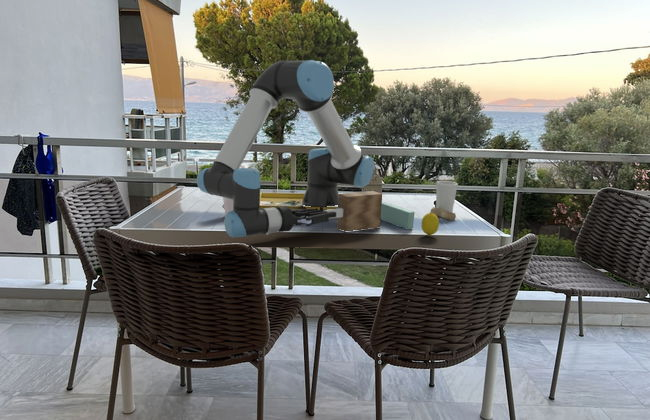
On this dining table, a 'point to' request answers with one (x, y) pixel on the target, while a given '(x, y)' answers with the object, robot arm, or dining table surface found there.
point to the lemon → (430, 224)
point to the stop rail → (397, 215)
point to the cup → (445, 195)
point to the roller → (443, 213)
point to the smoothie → (228, 205)
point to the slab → (360, 210)
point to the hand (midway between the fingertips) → (341, 212)
